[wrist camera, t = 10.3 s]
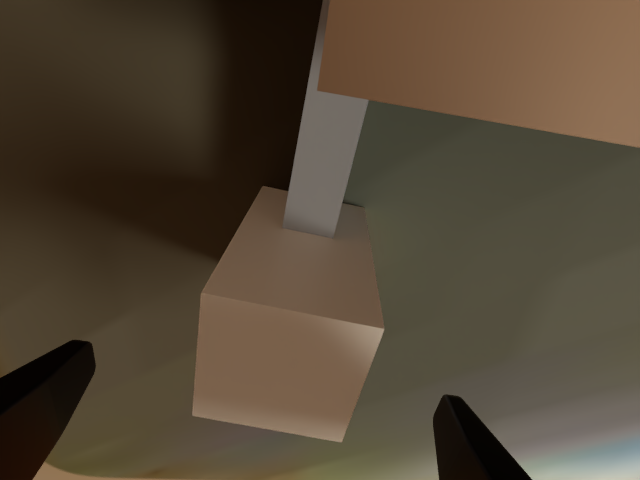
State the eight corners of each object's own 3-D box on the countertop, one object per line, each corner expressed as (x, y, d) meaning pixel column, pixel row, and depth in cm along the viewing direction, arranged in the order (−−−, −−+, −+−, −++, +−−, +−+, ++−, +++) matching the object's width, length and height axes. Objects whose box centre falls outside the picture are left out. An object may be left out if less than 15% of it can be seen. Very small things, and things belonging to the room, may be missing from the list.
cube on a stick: (495, -250, 9) (888, -1004, 2) (340, 290, 16) (341, 442, 10) (332, -297, 8) (313, -1257, 2) (250, 272, 16) (192, 415, 10)
